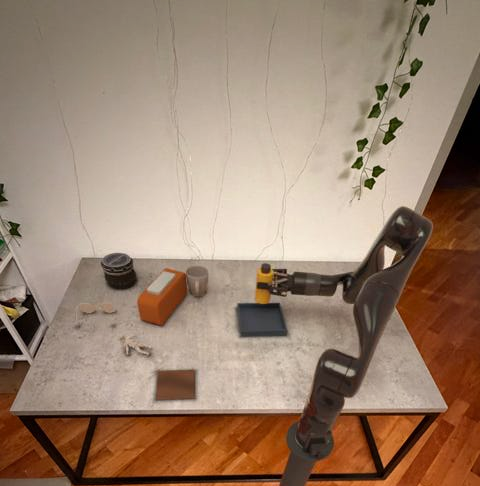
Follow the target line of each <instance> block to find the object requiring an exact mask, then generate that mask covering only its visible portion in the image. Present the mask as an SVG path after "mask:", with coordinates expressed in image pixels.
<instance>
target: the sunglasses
mask: <svg viewBox="0 0 480 486" xmlns="http://www.w3.org/2000/svg"><path fill="white" fill-rule="evenodd" d="M98 307H99V310H100V312H106V313H109V314H110V313H113V315H115V312H116V305H115V304H113V303H112V302H101V303H100V304H98ZM78 308H79V309H80V311H82V312H84V313H86V314H92V313H94V312H95V311H96V306H95V305H94V304H92V303H88V302H80V303H79V305H77V306H76V310H78ZM77 316H78V315H76V317H75V323H76V325H77V327H79V325H78V324H79V323H78V320H77V319H78V317H77ZM114 322H115V318H113V319H112V323H113V327H114V325H115V324H114Z"/></svg>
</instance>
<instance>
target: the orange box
mask: <svg viewBox="0 0 480 486" xmlns="http://www.w3.org/2000/svg"><path fill="white" fill-rule="evenodd" d="M187 294H188V283H187V278H186V272H184V271H179V270H176V269H172V268H167V267H166V268H164V269H163V270H162V271H161V272H160V273H159V274H158V275H157V276H156V277H155V278H154V280H152V282H151V283H150V284H149V285H148V286H147V287H146V288H145V289H144V290H143V291H142V292H141V294H139V295H138V297H137V300H136V303H137V304H136V305H137V309H138V313H139V317H140V320H141V321H143V322H147V323H151V324H154V325H157V326H163V325H164V324H165V323H166V322H167V321H168V320H169V318H170V317H171V315H172V314H173V313H174V311H175V310H176V309H177V308H178V306H179V305H180V304H181V302H182V301H183V300H184V299H185V297H186V296H187Z"/></svg>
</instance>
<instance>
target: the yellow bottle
mask: <svg viewBox="0 0 480 486" xmlns="http://www.w3.org/2000/svg"><path fill="white" fill-rule="evenodd" d="M272 269H273V268H272V265H271V264H270V263H268V262H264V263H262V264H261V265H260V267H259V268H258V269H257V271H256V280H255V291H254V293H255V294H254V301H255V303H260V304H267V303H271V296H272V295H271V294H269V291H268V290H265V289H257V282H266V283H272V282H273V278H274V277H273V274H274V273H275V272H274V271H273V270H272Z"/></svg>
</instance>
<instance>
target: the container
mask: <svg viewBox="0 0 480 486" xmlns="http://www.w3.org/2000/svg"><path fill="white" fill-rule="evenodd" d="M100 266H101V268H102V271H103V273H104V280H105V282H106V283H107V284H108V285H109V287H110V288H112V289H115V290H125V289H129V288H131V287H133V286H134V285H135V284H136V281H137V280H136V277H137V273H136V271H135V269H134V267H135V266H134V259H133V258H132V257H131V256H130V255H129V254H128V253H123V252H112V253H108V254H106V255H105V256H103V257H102V259H101V262H100Z"/></svg>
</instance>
